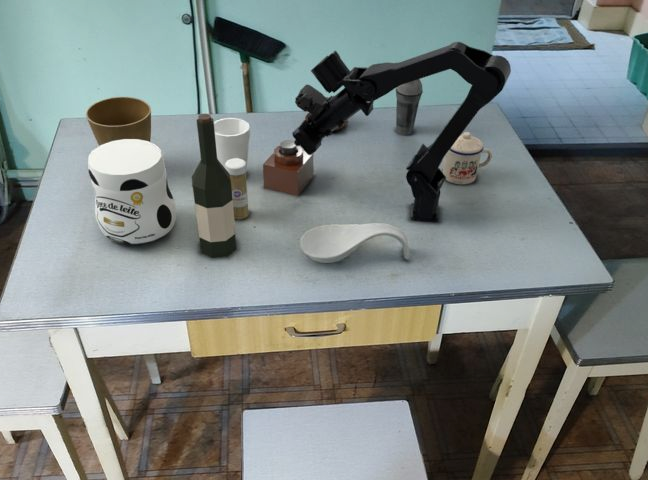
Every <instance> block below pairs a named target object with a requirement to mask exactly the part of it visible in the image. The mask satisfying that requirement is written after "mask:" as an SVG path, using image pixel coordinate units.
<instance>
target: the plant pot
mask: <svg viewBox="0 0 648 480" xmlns="http://www.w3.org/2000/svg"><path fill="white" fill-rule="evenodd" d="M85 117H86V120H87V122H88V125H89V127H90V129H91V131H92V134H93V136H94V138H95V141H96V142H97V144H98V147H99V146H100V145H102V144H105V143H108V142H111V141H116V140H122V139H139V140H144V141H149V142H151V137H152V107H151V105H150V104H149V103H148V102H146V101H145V100H142V99H140V98H137V97H131V96H113V97H108V98H104V99H101V100H98V101H96V102H94V103H93V104H91V105H90V106H89V107H88V108H87V109H86V111H85Z"/></svg>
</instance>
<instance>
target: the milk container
mask: <svg viewBox="0 0 648 480" xmlns="http://www.w3.org/2000/svg"><path fill="white" fill-rule="evenodd" d="M165 165H166V164H165V159H164V155H163V152H162V150H161V148H160V147H158V145H157V144H155V143H153V142H151V141H150V142H149V141H144V140H139V139H122V140H116V141H111V142H108V143H105V144H102V145H100V146H99V145H98V146H96V147H95V148H94V149H92V151H91V152H90V153H89V154H88V157H87V169H88V174H89V179H90V182H91V186H92V189H93V193H94V199H95V201H94V217H95V220H96V223H97V226H98V227H99V229H100V232H101V233H102V234H103V235H104V236H105V237H106V238H107V239H109V240H111V241H113V242H114V243H119V244H123V245H128V246H131V245H133V246H134V245H137V246H138V245H140V246H141V245H144V244H150V243H153V242H155V241H157V240H160V239H162V238H163V237H166V235H168V234H169V233H170V232H171V231H172V230H173V228H174V226H175V223H176V220H177V206H176V201H175V198H174V196H173V194H172V192H171V190H170V187H169V182H168V173H167V169H166V166H165Z"/></svg>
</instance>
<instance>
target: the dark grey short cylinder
mask: <svg viewBox="0 0 648 480" xmlns="http://www.w3.org/2000/svg"><path fill="white" fill-rule="evenodd" d="M294 141H295V140H288V139H287V140H283V141H280V143H279V146H280V153H281V154H282V155H285V156H292V155H295V154H296V153H297V146H296V145H295V144H294Z"/></svg>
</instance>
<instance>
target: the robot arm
mask: <svg viewBox="0 0 648 480" xmlns="http://www.w3.org/2000/svg"><path fill="white" fill-rule="evenodd" d="M511 67H512V66H511V63H510V62H509V60H508V59H507V58H506V57H504V56H502V55H494V54H492V53H490V52H488V51H487V50H483V49H480V48H476V47H473V46H469V45H467V44H466V43H463V42H462V41H454V42H451V43H450V44H448V45H447V46H446V45H445V46H444V47H440V48H437V49H434V50H432V51H429V52H426V53H423V54H420V55H416V56H414V57H411V58H408V59H405V60H402V61H398V62H381V63H373V64H371V65H369V66H368V67H366V66H365V67H363V66H354V67H353V68H351V70H350V69H349V68H348V66H347V65H346V63H345V62H344V61H343V60H342V58H341V56H340V54H339V52H337V50H334V51H332V52H331V53H330V54H328V55H326V56H325V57H324V58H323V59H322V60H320V61H319V62H318V63H317V64H316V65H315V66H313V68H312V69H310V72H311V74H312V75H313V77H314V78H315V79H316V80H317V81H318V83H319V84H320V85H321V87H322V88H323V89H324V90H325V92H326V93H328V94H330V93H333V94H335V93H336V92H337V91H339V89H341V90H340V91H339V92H337V93H336V94H335V95H331V96H325V95H324V94H323V93H322V92H321V91H319V90H318V89H316V88H315V87H314V86H312V85H310V84H304V85H303V87H301V89H300V90H299V92H298V94H297V96H295V99H294V103H295V105H296V107H297V108H299V109H300V110H302V111H303V112H305V113H306V112H307V113H311V114H310V115H309V116H308V119H307V121H306V119H304V120H303V121H302V122H301V124H300V125H298V126H297V127H296V129H294V131H293V132H291V134H292V137H293V138H294V140H293V141H294V144H295V145H296V146H299V147H301V148H302V150H303V151H305V152H306V153H307V154H308V155H312V154H313V155H314V153H315V152H317V151H318V149H320V147H321V146H322V142H323V139H324V138H328V137H329V136H331V134H332V133H333V132H334V131H336V130H335V129H336V128H337V127H341V126H342V125H343V124H344V123H345V121H346V120H348V121H349V119H350V118H351V117H353V116H355V114H357V113H358V112H360V111H362V113H363V114H364V115H365V116H366V117H368V116H369V115H371V113H372V111H373V110H374V103H375V101H377V100H378V99H380V98H382V97H383V96H386V95H387V94H389V93H390V92H392V91H393V90H396V88H397V87H398V86H400V85H402V84H405V83H408V82H412V81H415V80H418V79H420V80H421V79H423V78H428V77H430V76H433V75H436V74H440V73H443V72H445V71H448V70H449V71H450V70H451V71H453V72H455V73H457V75H459V77H461V79H463V80H464V81H465V82H466V83H467V84H470V85H471V86H470V88H469V91H468V93H467V96H465V98H464V100H463V101H462V102H461V104H460V105H459V106H458V107H457V110H455V112H454V113H453V114H452V116H451V118H450V119H449V120H448V122H447V123H446V125H445V126H444V127H443V129H442V130H441V131H440V133H439V134H438V136H437V137H436V138H435V140H434V141H433V142H432V143H431V144H430V145H429V146H426V145H425V143H422V144H421V146H420V148H419V149H418V150H417V153H415V154H414V155H413V156H412V158H411V160H410V162H409V163H408V165H407V166H406V168H405V169H406V170H407V171H406V174H405V179H406V182H407V184H408V185H409V186H410V189H411V193H412V197H413V198H414V199H413V203H411V204H410V220H412V221H419V222H420V221H421V222H432V223H438V222H439V221H440V205H439V204H440V197H441V193H442V192H441V191H442V190H441V188H442V187H443V185H444V183H445V181H446V176H445V175H444V174H443V170H441V168H440V166H441V164H442V162H443V161H444V159H445V155H446V154H447V152H448V151H449V150H450V148H451V147H452V146H453V144H454V143H455V142H456V140H457V139H458V138H459V136H460V135H463V133H464V132H465V130H466V129H467V127H468V126H469V125H470V124H471V123H472V121H473V119H474V118H475V116H476V115H477V114H478V112H479V111H480V110H481V109H482V108H484V107H485V106H486V105H489V104H490V102H491V101H493V100H494V99H495V98H496V97H497V96H498V95H499V94H500V93H501V92H502V91H503V89H504V88H505V85H506V83H507V81H508V80H509V77H510V75H511V72H512V70H511V69H512V68H511ZM342 87H343V89H342ZM333 130H334V131H333Z"/></svg>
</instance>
